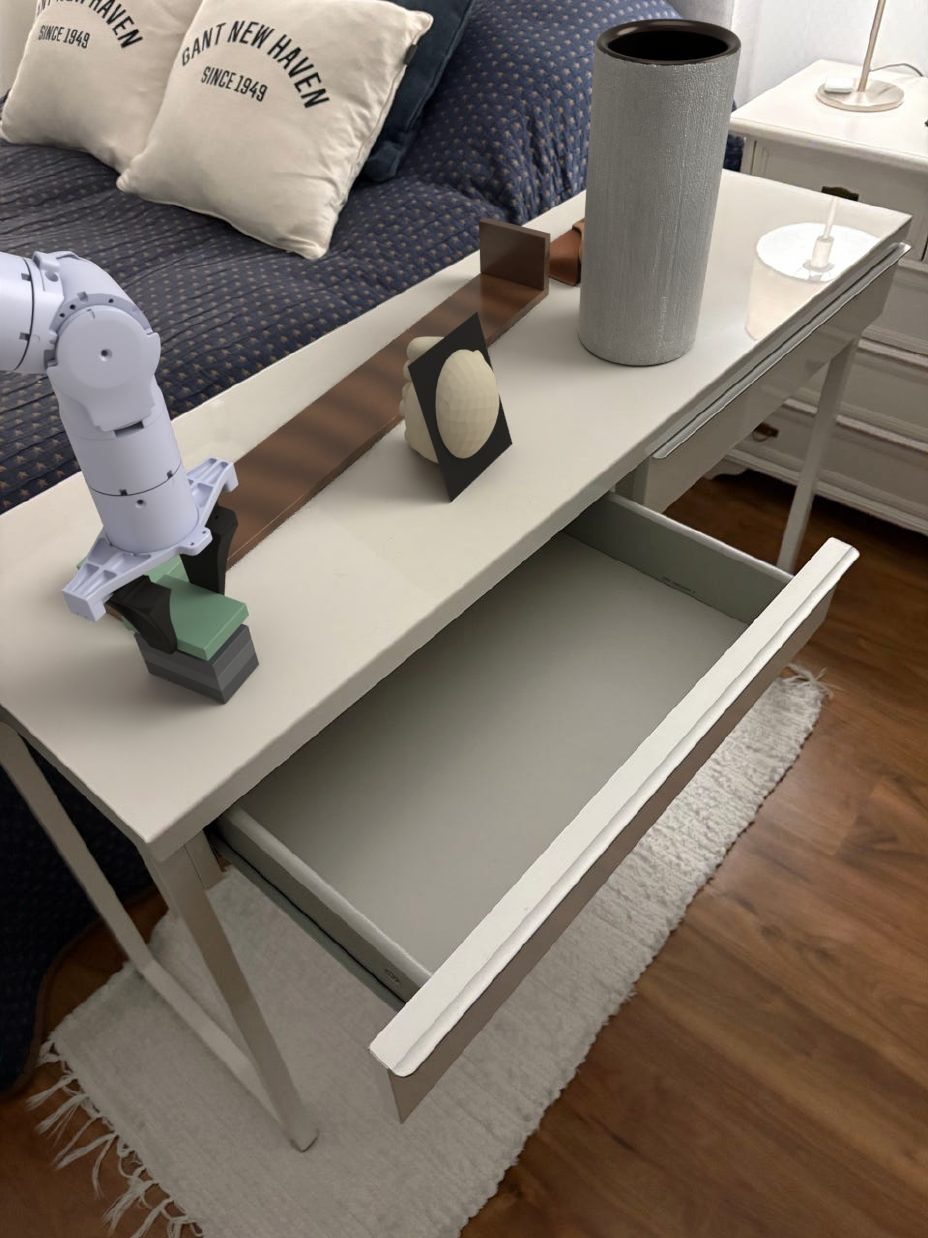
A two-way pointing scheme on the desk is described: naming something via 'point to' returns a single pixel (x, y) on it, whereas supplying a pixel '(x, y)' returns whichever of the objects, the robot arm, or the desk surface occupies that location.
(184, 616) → the sage book
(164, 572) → the green flat block
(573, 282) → the sunglasses case
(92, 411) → the robot arm
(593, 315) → the planter
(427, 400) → the decorative object
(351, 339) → the desk surface
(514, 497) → the desk surface
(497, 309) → the book ledge
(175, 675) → the grey books
